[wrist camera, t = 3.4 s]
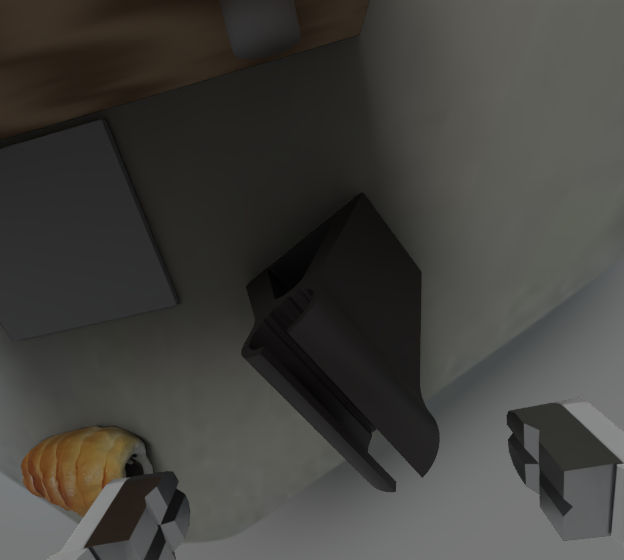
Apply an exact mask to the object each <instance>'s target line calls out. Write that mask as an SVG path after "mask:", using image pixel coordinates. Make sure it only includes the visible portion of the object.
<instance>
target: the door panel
mask: <svg viewBox="0 0 624 560" xmlns="http://www.w3.org/2000/svg"><path fill="white" fill-rule="evenodd" d="M368 3H369V0H0V140H3V139H6V138H10V137H13V136H16V135H20V134H23V133H27V132H30V131H33V130H37V129H40V128H44V127H47V126H50V125H54V124H57V123H61V122H64V121H67V120H71V119H74V118H78V117H81V116H84V115H88V114H91V113H95V112H98V111H102V110H105V109H108V108H112V107H115V106H119V105H122V104H125V103H129V102H132V101H136V100H139V99H142V98H146V97H149V96H153V95H156V94H159V93H163V92H166V91H170V90H173V89H176V88H180V87H183V86H187V85H190V84H193V83H197V82H200V81H204V80H207V79H210V78H214V77H217V76H221V75H224V74H227V73H231V72H234V71H238V70H241V69H245V68H248V67H251V66H255V65H258V64H262V63H265V62H268V61H272V60H275V59H279V58H282V57H285V56H289V55H292V54H296V53H299V52H302V51H306V50H309V49H313V48H316V47H319V46H323V45H326V44H330V43H333V42H336V41H340V40H343V39H347V38H350V37H353V36H357V35H360V31H361V28H362V24H363V21H364V17H365V14H366V10H367V7H368Z"/></svg>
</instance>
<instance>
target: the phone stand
mask: <svg viewBox="0 0 624 560" xmlns="http://www.w3.org/2000/svg"><path fill="white" fill-rule="evenodd" d="M246 289H247V292H248V296H249V299H250V303H251V306H252V309H253V313H254V316H255V323H254V326H253V328H252V331H251V333H250V334H249V336H248V338H247V340H246V341H245V343H244V345H243V348H242V352H241V354H242V356H243V357H244V358H245V359H246V360H247V361H248V362H249V363H250V364H251V365H252V366H253V367H254V368H255V369H256V370H257V371H258V372H259V373H260V374H261V375H262V376H263V377H264V378H265V379H266V380H267V381H268V382H269V383H270V384H271V385H272V386H273V387H274V388H275V389H276V390H277V391H278V392H279V393H280V394H281V395H282V396H283V397H284V398H285V399H286V400H287V401H288V402H289V403H290V404H291V405H292V406H293V407H294V408H295V409H296V410H297V411H298V412H299V413H300V414H301V415H302V416H303V417H304V418H305V419H306V420H307V421H308V422H309V423H310V424H311V425H312V426H313V427H314V428H315V429H316V430H317V431H318V432H319V433H320V434H321V435H322V436H323V437H324V438H325V439H326V440H327V441H328V442H329V443H330V444H331V445H332V446H333V447H334V448H335V449H336V450H337V451H338V452H339V453H340V454H341V455H342V456H343V457H344V458H345V459H346V460H347V461H348V462H349V463H350V464H351V465H352V466H353V467H354V468H355V469H356V470H357V471H358V472H359V473H360V474H361V475H362V476H363V477H364V478H365V479H366V480H367V481H368V482H369V483H370V484H371V485H372V486H374V487H375V488H377V489H379V490H381V491H385V492H395V491H396V481H394V479H393V478H392V477H391V476H390V475H389V474H388V473H387V472H386V471H385V470H384V469H383V468H382V467H381V466H380V465H379V464H378V463H377V462H376V461H375V460H374V459H373V457H372V456H371V455H370V454H369V453H368V446H369V443H370V440H371V437H372V434H371V432H373V431H375V430H376V428H377V429H378V430H379V431H380V433H381V434H382V435H383V436H384V437H385V438H386V439H387V440H388V441H389V442H390V443H391V444H392V445H393V446H394V448H395V449H396V450H397V451H398V452H399V453H400V454H401V455H402V456H403V457H404V458H405V459H406V461H408V463H409V464H410V465H411V466H412V467H413V468H414V469H415V470H416V471H417V472H418V473H419V474H420V476H421V477H423V476H424V475H425V474H426V473H427V472H428V470H429V469H430V467H431V466H432V464H433V462H434V460H435V458H436V455H437V452H438V448H439V429H438V426H437V423H436V421H435V419H434V417H433V416H432V415H431V413H430V412H429V411H428V409H427V408H426V406H425V404H424V401H423V399H422V395H421V391H420V333H421V271H420V269H419V268H418V267H417V265H416V264H415V262H414V261H413V260H412V258H411V257H410V256H409V254H408V253H407V252H406V250H405V249H404V248H403V246H402V245H401V243H400V242H399V241H398V239H397V238H396V237H395V235H394V234H393V233H392V231H391V230H390V229H389V227H388V226H387V224H386V223H385V222H384V220H383V219H382V218H381V216H380V215H379V214H378V212H377V211H376V210H375V208H374V207H373V205H372V204H371V203H370V201H369V200H368V199H367V197H366V196H365V195H364V193H363V192H362V193H361V194H359V195H358V196H356V197H355V198H354V199H353V200H351V201H350V202H349V203H348V204H346V205H345V206H344V207H343V208H341V209H340V210H339V211H338V212H337V213H335V214H334V215H333V216H332V217H330V218H329V219H328V220H327V221H325V222H324V223H323V224H322V225H320V226H319V227H318V228H317V229H315V230H314V231H313V232H312V233H310V234H309V235H308V236H307V237H305V238H304V239H303V240H302V241H301V242H299V243H298V244H297V245H295V246H294V247H293V248H292V249H290V250H289V251H288V252H287V253H286V254H284V255H283V256H282V257H281V258H279V259H278V260H277V261H276V262H274V263H273V264H272V265H271V266H269V267H268V268H267V269H266V270H264V271H263V272H262V273H261V274H259V275H258V276H257V277H256V278H254V279H253V280H252V281H251V282H250V283H248V284H247V286H246Z"/></svg>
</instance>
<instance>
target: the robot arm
mask: <svg viewBox="0 0 624 560" xmlns="http://www.w3.org/2000/svg"><path fill="white" fill-rule="evenodd" d="M507 425H508V426H509V428H510V429H511V431H512V432H513V434H512V435H511V436H510V438H509V439H508V446H509V453H510V456H511V459H512V462H513V465H514V467H515V469H516V470H517V473H518V474H519V476H520V478H521V479H522V481H523V482H524V484H525V485H526V486H527V487H528V488H530V489H532V490H533V491H535V492H536V493H538V494H540V507H541V509H542V510H543V512H544V513H545V515H546V516H547V518H548V519H549V521H550V522H551V523H552V525H553V526H554V528H555V529H556V531H557V532H558V534H559V535H560V537H561V538H562V540H563V541H567V540H577V539H585V538H595V537H604V536H611V539H612V540H614V541H615V542H616V543H618V544H619V545H621V546H622V547H623V548H624V432H623V431H622V430H621V429H620V428H618V427H617V426H616V425H615V424H614V423H612V422H611V421H610V420H609V419H608V418H606V417H605V416H604V415H603V414H601V413H600V412H599V411H598V410H597V409H595V408H594V407H593V406H592V405H590V404H589V403H588V402H587V401H586V400H583V399H581V398H575V399H569V400H564V401H559V402H555V403H548V404H543V405H537V406H532V407H527V408H521V409H516V410H511V411H508V414H507ZM178 482H179V481H178V479H177V477H176V475H175V473H174V472H172V471H166V472H159V473H152V474H145V475H138V476H132V477H127V478H121V479H114V480H112V481H111V482H109V483H108V484H106V485H105V487H104V488H103V490H102V491H101V493H100V494H99V496H98V497H97V499H96V500H95V501H94V503H93V504H92V506H91V507H90V509H89V510H88V512H87V513H86V515H85V516H84V518H83V519H82V520H81V522H80V523H79V525H78V526H77V528H76V529H75V531H74V532H73V534H72V535H71V537H70V538H69V539H68V541H67V542H66V544H65V545H64V547H63V548H62V550H61V551H60V553H55V554H52V555H51V556H50V557H49V558H48V559H46V560H176V557H175V553H174V550H175V549H176V548H177V547H178V546H179V545H180V544H181V543H182V541H183V540H184V539H185V536H186V533H187V530H188V527H189V519H190V506H189V501H188V499H187V497H186V495H185V494H184V493H182V492H181V491H179V490H178V489H176V488H177V485H178Z"/></svg>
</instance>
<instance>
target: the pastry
mask: <svg viewBox="0 0 624 560" xmlns="http://www.w3.org/2000/svg"><path fill="white" fill-rule="evenodd" d="M21 469H22V475H23V476H24V477H23V483H24V485H25V486H26V488H27V489H28V490H29V491H30V492H31V493H32V494H34V495H36V496H39V497H43V498H46V499H47V500H48V501H49V502H50V503H52V504H55V505H59V506H61V507H62V508H65V510H73V511H74V512H77V513H78V514H79V515H81V516H83V517H84V516H85V515H86V513H87V512H88V510H89V509H90V507H91V506H92V504H93V503H94V501H95V500H96V499H97V497H98V496H99V494H100V493H101V491H102V490H103V488H104V487H105V485H106V484H108V483H109V482H111V481H112V480H114V479H121V478H127V477H132V476H138V475H145V474H152V473H153V467H152V464H151V463H150V461H149V459H148V457H147V456H146V449H145V445H144V443H143V442H142V441H141V440H140V439H139V438H138V437H137V436H134V435H133V434H132V433H131V432H129V431H128V430H125V429H122V428H118V427H114V426H112V427H107V428H100V427H98V426H94V427H86V428H83V429H77V430H74V431H70V432H66V433H62V434H58V435H55V436H52V437H49V438H47V439H45V440H44V441H42V442H41V443H39V444H38V445H37V446H36V447H34V448H33V449H31V450H30V451H29V453H28V454H27V455H26V456H25V458H24V459H23V461H22V464H21Z"/></svg>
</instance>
